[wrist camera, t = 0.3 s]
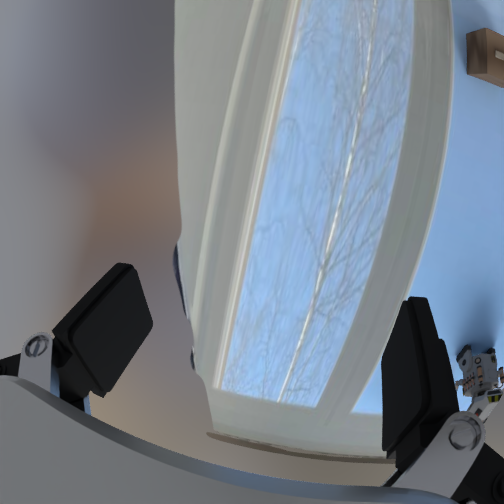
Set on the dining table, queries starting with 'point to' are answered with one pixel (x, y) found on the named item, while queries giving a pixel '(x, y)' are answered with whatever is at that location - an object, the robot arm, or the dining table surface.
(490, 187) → the dining table surface
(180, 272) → the dining table surface
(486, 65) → the lettered block
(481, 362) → the figurine
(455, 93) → the dining table surface
